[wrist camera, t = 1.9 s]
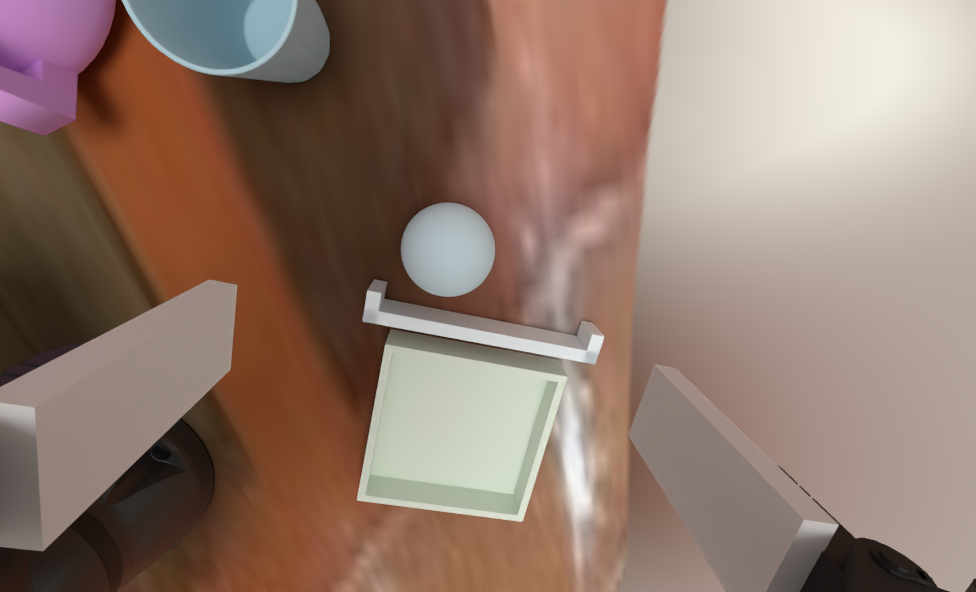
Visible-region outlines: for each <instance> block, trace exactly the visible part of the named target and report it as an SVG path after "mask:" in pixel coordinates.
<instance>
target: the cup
mask: <svg viewBox="0 0 976 592" xmlns="http://www.w3.org/2000/svg"><path fill="white" fill-rule="evenodd" d="M122 2H123V4H124V6H125V8H126V10H127V12H128V14H129V16H130V17H131V19H132V20H133V22H134V23H135V25H136V26H137V27H138V29H139V30H140V31H141V33H142V34H143V35H144V36H145V37H146V38H147V40H148V41H149V42H150V43H151V44H152V45H154V46H155V47H156V48H157V49H158V50H159V51H161V52H162V53H163V54H165V55H166V56H167V57H169V58H170V59H172V60H174V61H175V62H177V63H179V64H181V65H183V66H185V67H187V68H189V69H192V70H195V71H198V72H202V73H205V74H211V75H219V76H228V77H239V78H248V79H257V80H266V81H275V82H285V83H293V82H303V81H306V80H308V79H310V78H311V77H313V76H314V75H316V74H317V73H318V72H319V71H320V70H321V69H322V68H323V66H324V64H325V62H326V60H327V58H328V55H329V50H330V33H329V29H328V27H327V24H326V21H325V18H324V16H323V14H322V12H321V10H320V8H319V6H318V4H317V2H316V0H122Z"/></svg>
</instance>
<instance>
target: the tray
mask: <svg viewBox="0 0 976 592" xmlns="http://www.w3.org/2000/svg"><path fill="white" fill-rule="evenodd" d="M566 380H567V375H566V373H565V371H564V369H563V367H562V365H561V363H560V362H559V360H558V359H552V358H547V357H541V356H536V355H530V354H525V353H520V352H514V351H509V350H503V349H498V348H492V347H487V346H481V345H476V344H471V343H465V342H460V341H454V340H449V339H443V338H438V337H433V336H427V335H422V334H416V333H411V332H405V331H400V330H394V329H390V332H389V335H388V338H387V340H386V343H385V348H384V354H383V359H382V365H381V370H380V376H379V381H378V387H377V392H376V398H375V403H374V408H373V414H372V419H371V425H370V430H369V436H368V441H367V447H366V452H365V458H364V463H363V469H362V474H361V480H360V485H359V491H358V496H357V501H365V502H372V503H380V504H388V505H396V506H404V507H411V508H419V509H427V510H435V511H442V512H450V513H458V514H466V515H474V516H481V517H489V518H497V519H505V520H513V521H520V522H523V518H524V515H525V512H526V509H527V505H528V502H529V499H530V496H531V493H532V489H533V486H534V483H535V480H536V477H537V473H538V470H539V467H540V464H541V461H542V457H543V454H544V451H545V448H546V444H547V441H548V438H549V435H550V432H551V428H552V425H553V422H554V419H555V416H556V412H557V409H558V406H559V403H560V400H561V396H562V393H563V390H564V387H565V384H566Z"/></svg>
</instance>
